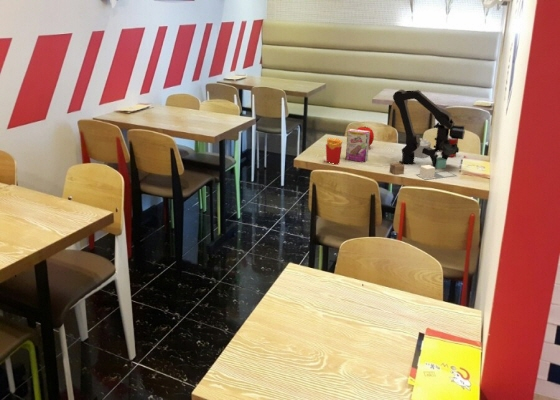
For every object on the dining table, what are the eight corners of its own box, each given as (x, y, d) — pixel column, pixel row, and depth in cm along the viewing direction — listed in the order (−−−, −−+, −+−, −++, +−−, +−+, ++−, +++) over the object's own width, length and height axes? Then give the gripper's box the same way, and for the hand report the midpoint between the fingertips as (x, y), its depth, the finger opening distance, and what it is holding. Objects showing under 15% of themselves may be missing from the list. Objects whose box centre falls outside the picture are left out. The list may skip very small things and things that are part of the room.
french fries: (324, 161, 287) (324, 138, 282) (328, 160, 290) (329, 136, 285) (338, 165, 281) (339, 141, 277) (342, 163, 284) (344, 139, 280)
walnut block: (389, 173, 271) (390, 163, 269) (398, 172, 273) (398, 162, 271) (394, 176, 267) (395, 166, 265) (403, 175, 268) (404, 165, 266)
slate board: (414, 175, 267) (414, 174, 267) (446, 171, 273) (446, 170, 273) (425, 181, 259) (425, 180, 259) (457, 177, 266) (457, 176, 265)
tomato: (350, 146, 315) (351, 125, 310) (365, 144, 320) (367, 123, 315) (360, 151, 306) (362, 129, 301) (376, 149, 310) (378, 127, 305)
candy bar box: (345, 160, 290) (347, 130, 284) (348, 157, 295) (349, 128, 289) (365, 162, 286) (367, 132, 280) (368, 160, 290) (370, 130, 284)
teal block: (431, 167, 280) (432, 157, 278) (439, 166, 282) (440, 156, 280) (437, 169, 276) (438, 160, 274) (445, 168, 278) (446, 159, 276)
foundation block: (419, 175, 266) (420, 165, 264) (428, 174, 267) (429, 164, 265) (425, 178, 261) (426, 168, 259) (434, 177, 263) (435, 167, 261)
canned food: (456, 157, 296) (459, 138, 292) (441, 157, 297) (443, 137, 293) (455, 154, 303) (457, 135, 299) (440, 153, 304) (442, 134, 300)
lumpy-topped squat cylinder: (406, 155, 299) (408, 140, 296) (414, 150, 309) (416, 135, 306) (425, 158, 294) (426, 143, 291) (432, 153, 304) (434, 138, 301)
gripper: (436, 142, 263) (432, 172, 269) (467, 139, 269) (463, 168, 275) (423, 136, 272) (420, 166, 278) (453, 133, 279) (449, 162, 284)
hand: (438, 166), depth 279 cm, fingers closed on teal block, 5 cm apart
